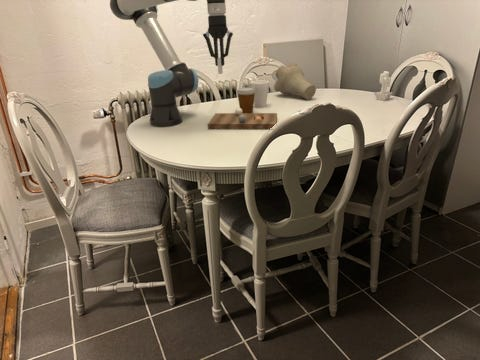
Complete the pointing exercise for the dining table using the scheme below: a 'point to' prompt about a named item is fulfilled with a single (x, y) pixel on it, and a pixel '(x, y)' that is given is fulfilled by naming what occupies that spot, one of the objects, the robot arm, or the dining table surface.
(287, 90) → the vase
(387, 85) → the figurine
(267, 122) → the board
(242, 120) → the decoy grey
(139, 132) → the dining table surface
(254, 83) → the foam cup
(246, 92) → the disposable coffee cup
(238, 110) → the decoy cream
